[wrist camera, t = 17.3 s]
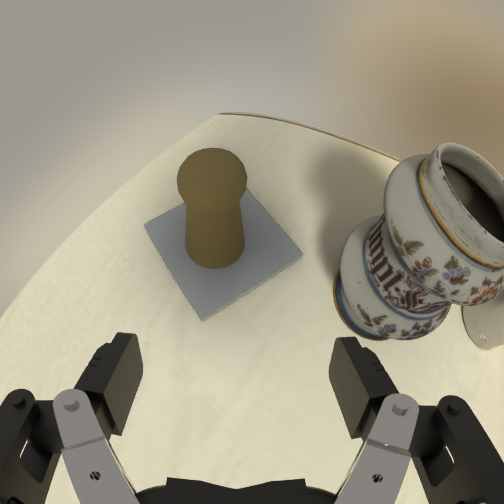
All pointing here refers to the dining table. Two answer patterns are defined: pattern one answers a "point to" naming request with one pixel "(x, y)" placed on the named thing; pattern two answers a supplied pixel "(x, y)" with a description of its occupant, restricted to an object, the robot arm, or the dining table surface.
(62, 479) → the dining table surface
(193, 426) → the dining table surface
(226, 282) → the slate tile
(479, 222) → the apothecary jar
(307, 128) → the dining table surface
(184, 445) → the dining table surface
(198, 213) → the brown pawn
